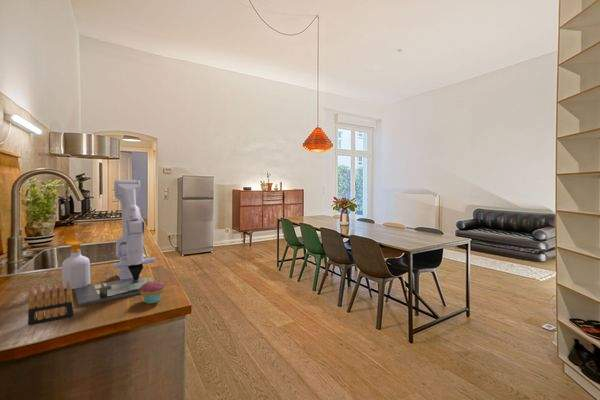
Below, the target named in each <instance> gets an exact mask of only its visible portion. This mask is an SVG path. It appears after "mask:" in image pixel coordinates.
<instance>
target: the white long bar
mask: <svg viewBox="0 0 600 400" xmlns="http://www.w3.org/2000/svg"><path fill="white" fill-rule="evenodd" d="M149 280H150V282H151V281H154V278H152V277H150V276H149ZM147 282H148V280H147V276H146V277H142V278H139V279H137V280H133V281H129V282H124V283H120V284H116V285H111V286H103V287H100V288H99V292H100V297H102V298H103V297H108V296H111V295H115V294H119V293H123V292H127V291H131V290H135V289H139V288H140V287H141V286H142V285H144V284H145V283H147Z"/></svg>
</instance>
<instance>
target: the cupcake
mask: <svg viewBox="0 0 600 400" xmlns="http://www.w3.org/2000/svg"><path fill="white" fill-rule="evenodd" d="M145 274H146V277H147V280H148V282H147V283H145V284H144V285H142V286H141V287H140V288H139V292H140V294H139V295H141V296H142V298H143V300H144V303H146V304H154V303H158V302H159V301H160V299H161V297H162V294H163V293H164V292H165V291H166V286H165V283H164V282H162V281H158V280H153V281H151V282H150V280H149V277H150V274H149V271H148V269H145Z"/></svg>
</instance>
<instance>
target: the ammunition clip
mask: <svg viewBox="0 0 600 400" xmlns="http://www.w3.org/2000/svg"><path fill="white" fill-rule="evenodd" d="M28 289H29V290H28V300H27V305H28V311H27V313H28V315H27V326H28V327H30V326H34V325H40V324H45V323H50V322H55V321H60V320H61V321H62V320H66V319H70V318H73V317H74V315H75V314H74V304H73V302H74V301H73V299H74V298H73V291H72V290H73V289H71V283H70V281H69V280H68V282H67V286H66V289H64V284H63V281H60V283H59V288H58V287H57V284H56V282H55V281H54V282H53V283H52V288H51V291H50V286H49V283H48V282H47V283H45V286H44V295H43V289H42V285H41V284H37V288H36V297H35V289H34V286H33V285H32V284H31V285H30V286H29V288H28ZM58 290H59V291H58ZM65 290H66V291H65Z"/></svg>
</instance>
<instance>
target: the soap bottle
mask: <svg viewBox="0 0 600 400" xmlns="http://www.w3.org/2000/svg"><path fill="white" fill-rule="evenodd" d="M81 228H83V226H76V227H71V228H68V229H66V230H64V243H65V245H66V246H71V248H72V249H71V250H70V256H69V257H67V258H66V259H65V260H63V261H62V263H61V273H62V274H61V275H62V276H61V278H62V279H61V280H62V282H63V284H64V290H66V286H67V282H68V280H69V281H70V283H71V290H75V288H80V287H85V286H90V284H91V261H90V259H89V258H88V256H87V257H86V256H84V255H82V252H81V251H82V250H81V249H80V248H79V247H81V246H80V245H84V244H85V243H84V242H81V241H79V242H78V241H76V231H77V230H79V229H81Z"/></svg>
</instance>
